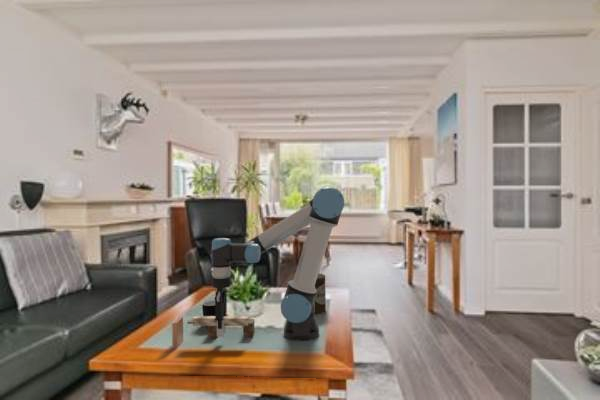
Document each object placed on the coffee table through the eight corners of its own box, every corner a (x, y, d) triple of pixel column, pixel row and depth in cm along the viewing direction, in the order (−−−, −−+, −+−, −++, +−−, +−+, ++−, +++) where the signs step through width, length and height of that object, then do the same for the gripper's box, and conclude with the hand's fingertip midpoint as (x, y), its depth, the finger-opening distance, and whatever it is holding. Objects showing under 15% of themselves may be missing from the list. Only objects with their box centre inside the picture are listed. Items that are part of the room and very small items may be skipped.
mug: (224, 326, 185) (223, 304, 185) (204, 328, 182) (203, 306, 182) (219, 318, 196) (219, 298, 196) (200, 321, 193) (200, 300, 193)
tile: (183, 340, 167) (182, 316, 167) (177, 348, 159) (176, 323, 159) (178, 340, 167) (178, 316, 167) (172, 348, 159) (171, 323, 159)
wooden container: (322, 315, 199) (321, 271, 198) (293, 314, 203) (292, 270, 202) (328, 307, 213) (327, 266, 213) (301, 306, 217) (300, 265, 217)
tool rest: (254, 332, 176) (254, 318, 176) (252, 337, 170) (252, 323, 170) (211, 333, 176) (210, 319, 176) (207, 337, 170) (207, 323, 170)
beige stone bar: (249, 322, 165) (249, 315, 165) (247, 326, 160) (247, 319, 160) (190, 322, 166) (190, 315, 166) (187, 326, 161) (187, 319, 161)
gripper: (216, 272, 171) (216, 327, 171) (207, 280, 155) (207, 341, 155) (233, 272, 171) (233, 327, 171) (226, 281, 155) (226, 341, 155)
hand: (221, 334), depth 163 cm, fingers closed on beige stone bar, 3 cm apart
